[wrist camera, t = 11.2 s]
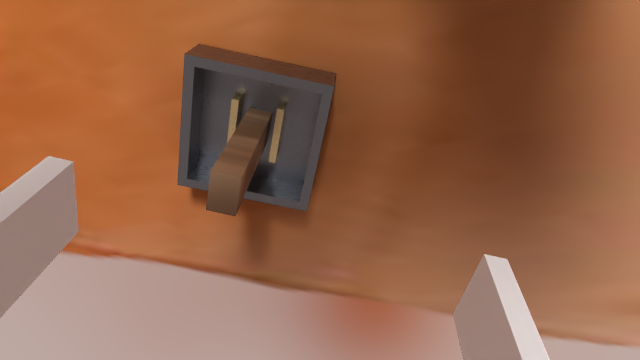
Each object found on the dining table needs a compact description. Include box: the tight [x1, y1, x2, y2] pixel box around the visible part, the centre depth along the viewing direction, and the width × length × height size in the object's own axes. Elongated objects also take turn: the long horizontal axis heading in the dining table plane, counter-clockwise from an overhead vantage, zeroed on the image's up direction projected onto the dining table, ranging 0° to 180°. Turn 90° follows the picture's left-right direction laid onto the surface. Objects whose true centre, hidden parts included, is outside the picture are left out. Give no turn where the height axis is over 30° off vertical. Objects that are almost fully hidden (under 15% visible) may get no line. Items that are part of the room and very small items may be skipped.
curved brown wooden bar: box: [206, 108, 272, 216], centre depth 35 cm, size 3×2×12 cm, turn 168°
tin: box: [178, 44, 336, 211], centre depth 39 cm, size 12×12×4 cm
